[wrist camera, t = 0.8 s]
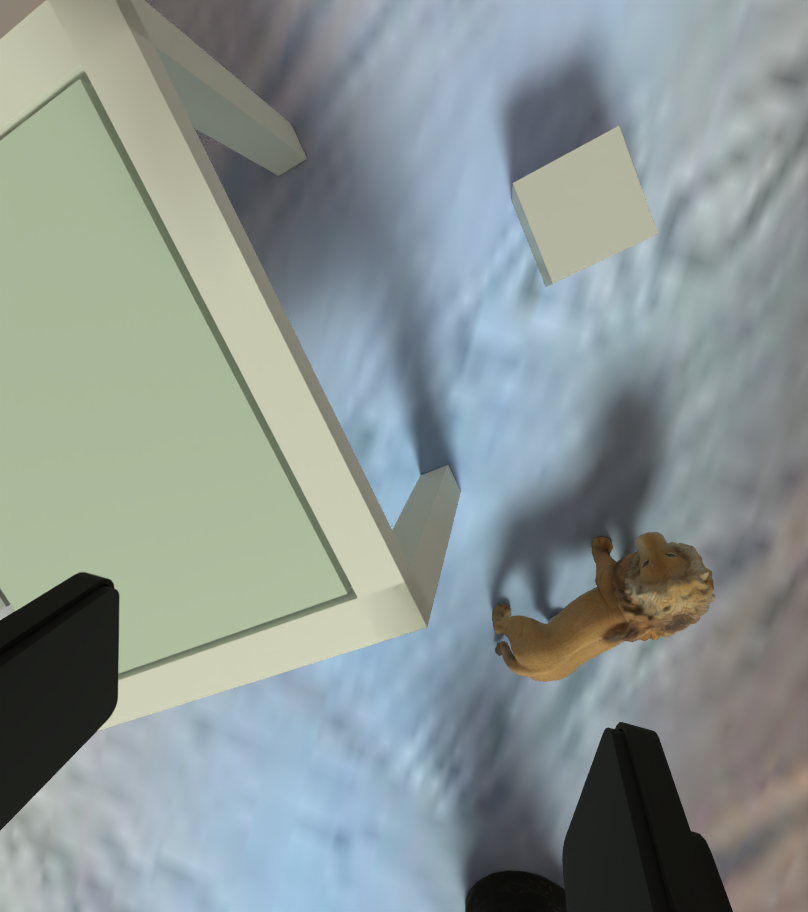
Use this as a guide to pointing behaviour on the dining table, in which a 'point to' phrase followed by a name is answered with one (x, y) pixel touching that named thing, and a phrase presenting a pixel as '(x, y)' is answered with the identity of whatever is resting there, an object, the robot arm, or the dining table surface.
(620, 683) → the dining table surface
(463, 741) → the dining table surface
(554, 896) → the lantern
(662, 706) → the dining table surface
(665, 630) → the lion figurine
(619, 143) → the stone block
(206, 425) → the trapdoor plate
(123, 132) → the trapdoor frame
